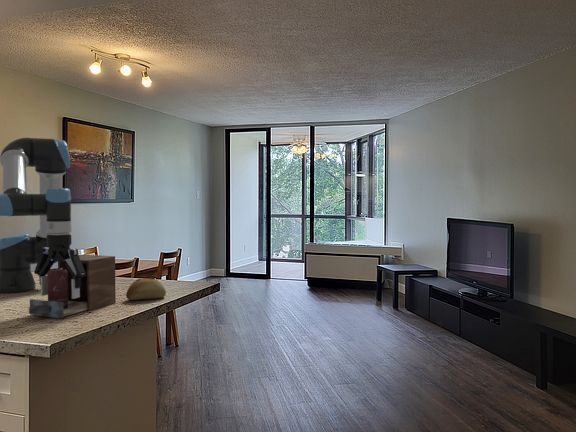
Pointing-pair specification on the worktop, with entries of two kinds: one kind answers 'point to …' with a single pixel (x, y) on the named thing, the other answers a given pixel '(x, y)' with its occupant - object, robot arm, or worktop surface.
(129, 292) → the bread roll
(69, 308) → the tray
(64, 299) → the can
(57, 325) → the worktop surface
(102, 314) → the worktop surface
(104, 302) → the box
